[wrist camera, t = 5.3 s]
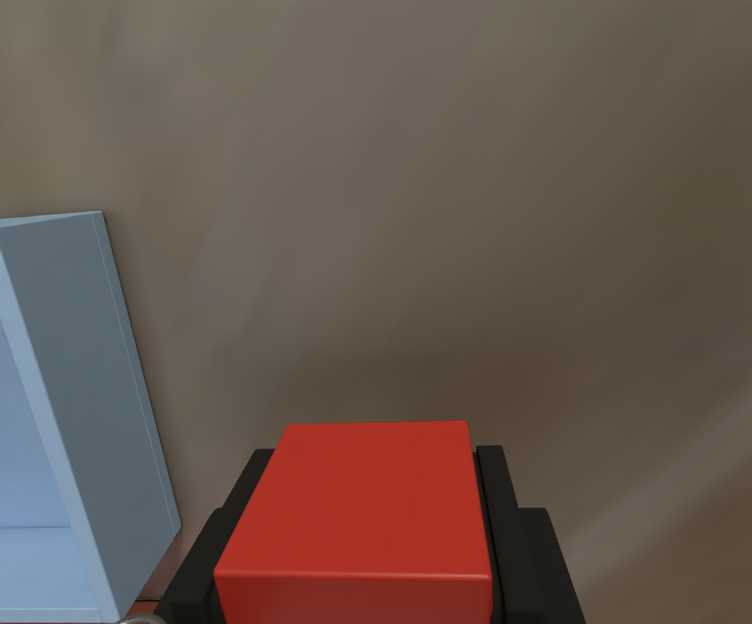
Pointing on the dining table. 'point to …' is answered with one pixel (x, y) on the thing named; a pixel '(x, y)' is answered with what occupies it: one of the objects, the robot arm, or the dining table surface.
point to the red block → (362, 530)
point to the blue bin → (73, 431)
